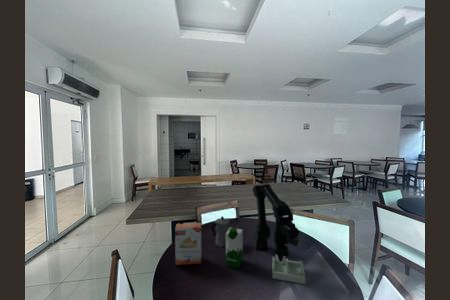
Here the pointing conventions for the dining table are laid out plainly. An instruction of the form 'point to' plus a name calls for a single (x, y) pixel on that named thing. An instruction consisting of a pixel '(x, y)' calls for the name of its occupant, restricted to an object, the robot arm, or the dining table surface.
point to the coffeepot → (221, 231)
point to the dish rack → (288, 271)
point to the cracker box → (188, 243)
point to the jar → (280, 261)
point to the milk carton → (234, 247)
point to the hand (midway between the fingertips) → (280, 258)
